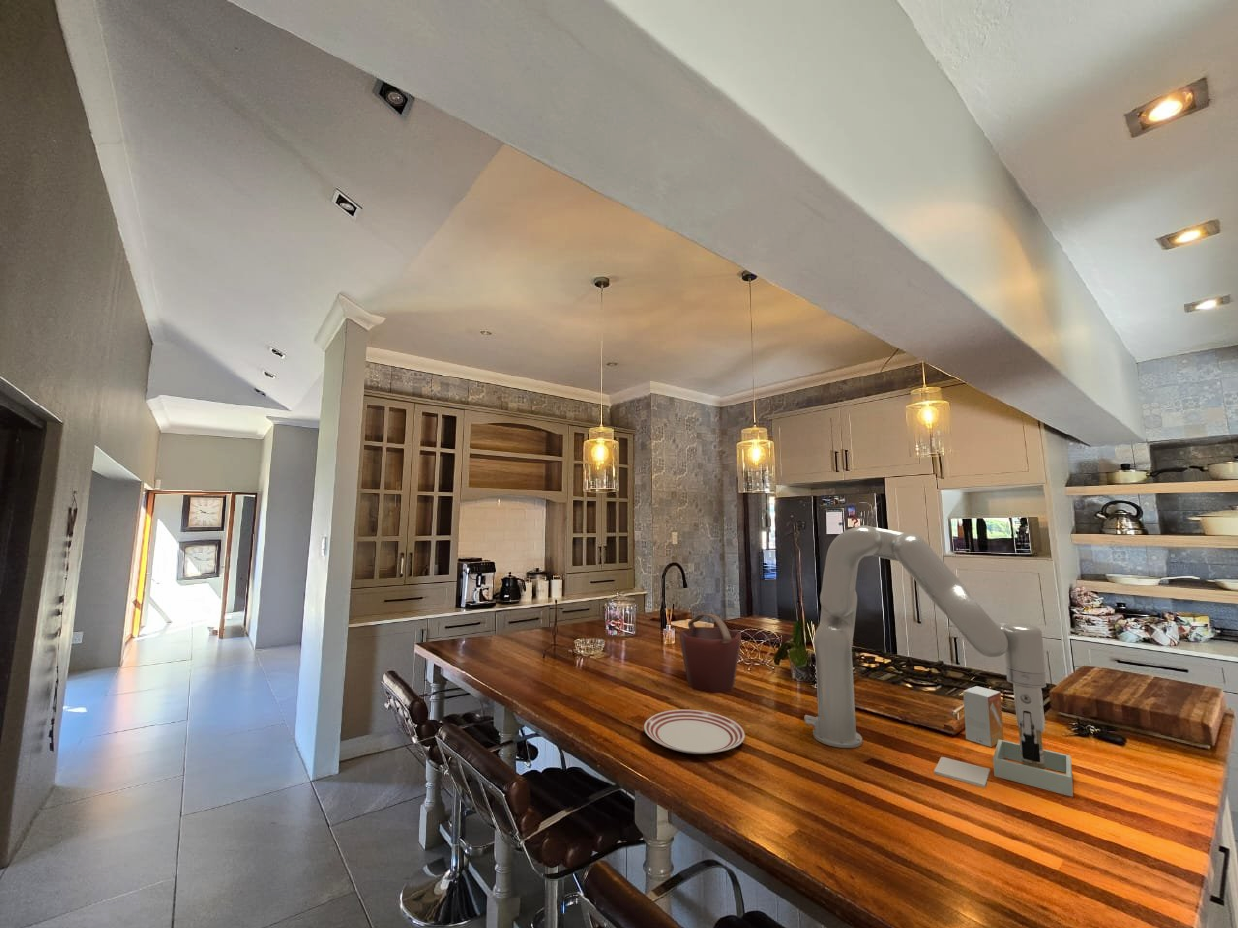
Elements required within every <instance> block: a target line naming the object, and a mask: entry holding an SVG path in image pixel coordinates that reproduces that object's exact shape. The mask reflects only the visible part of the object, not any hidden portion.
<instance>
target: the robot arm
mask: <svg viewBox="0 0 1238 928" xmlns="http://www.w3.org/2000/svg"><path fill="white" fill-rule="evenodd" d="M871 556H872V557H876V558H881V559H885V560H886V559H887V560H891V561H896V562H899V563H900V564H901V566H902V567H904V569H905V570H906V571H907V573H908V575H910V576H911V577H912V578H913V580H914V581H915V582H916V583H917V584H918V586H920V588H921V590H923V592H925V594H926V595H927V596H928V597H929V599H930V600H931V601H932V602H933V603H934V604H935V606H936V607H937V608H938V609H940V610H941V611H942V612H943V613H944V615H945V616H946V617H947V618H948V619H949V621H950V622H952V623H951V624H953V625H954V626H955V628H956V629H957V630H958V631H959V633H960V634H961V635H962V636H963V638H965V639H966V641H967V642H968V643H969V644H970V645H971V646H972V648H973V649H974V650H975V651H976V652H977V653H978V654H980V655H982V656H984V657H987V658H997V657H1000V656H1003V655H1004V658H1005V671H1006V681H1007V682H1008V683H1010V684H1012V687H1013V699H1014V708H1015V717H1016V723H1017V727H1018V728H1019V727H1020V728H1021V727H1022V728H1021V729H1022V740H1021V741H1022V755H1023V758H1024V759H1027V760H1031V761H1036V762H1040V752H1039V744H1037V730H1038V731H1040V732H1041V733H1043V732H1045V728H1046V727H1045V726H1046V720H1045V711H1044V698H1043V691H1042V689H1043V688H1047V679H1046V678H1047V677H1046V668H1045V667H1046V666H1045V655H1044V641H1043V633H1042V630H1041V629H1040V628H1039V627H1038V626H1036V625H1033V624H1027V623H1017V622H1010V623H1007V622H1000V621H995V620H993V619H992V618H991V617H990V616H989V614H988V613H987V612H986V611H985V610H984V609H983V607H982V606H981V605H980V604H979V603H978V602H977V601H976V599H974V597H973V596H972V594H970V591H968V589H967V588H966V587H965V585H964V584H963V582H962V581H961V580H960V579H959V578H958V577H957V575H956V574H955V573H954V572H953V571H952V570H951V569H950V567H948V565H947V564H946V563H945V562H944V560H943V559H942V558H941V557H940V556H939V555H938V554H937V553H936V551H935V550H934V549H933V548H932V547H931V546H930V545H929V544H928V543H927V542H926V540H925V539H923V537H921V536H919V535H917V534H916V533H915V534H914V533H908V532H903V531H896V530H891V529H886V528H880V527H877V526H876V527H874V526H870V525H865V524H864V525H863V524H862V525H858V526H855V527H852V528H849V529H846V530H844V531H842V532H841V533H840V534H838V535H837V536H836V537H835V538H834V539H833V540H832V542H830V545H829V546H828V549H827V552H826V556H825V563H824V570H823V578H822V585H821V591H820V595H819V599H820V601H819V602H820V605H821V610H820V620H819V625H818V626H817V628H816V630H815V633H814V639H813V644H814V655H815V668H816V671H815V673H816V689H817V692H816V694H817V714H818V715H817V716H816V717H815V716H813V715H808V714H805V715H804V723H805V725H806V726H811V727H813V730H812V736H813V738H814V739H815V740H816V741H818V743H819V742H820V743H822V744H824V745H826V746H830V747H833V748H841V749H854V748H858V747H861V746H862V744H863V736H861V734H860V733H858V732H857V728H856V727H857V725H856V711H855V710H856V707H855V705H856V703H855V687H854V685H855V682H854V667H853V666H854V665H853V652H852V651H853V650H852V649H853V641H854V635H855V634H854V633H855V625H856V624H855V623H856V616H857V615H856V613H857V607H858V593H857V592H856V584H857V577H858V576H857V575H858V567H859V563H860V561H861V560H862V559H863V558H865V557H871ZM1031 726H1032V727H1034V729H1031ZM1032 732H1034V735H1033V734H1032Z"/></svg>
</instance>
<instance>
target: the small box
mask: <svg viewBox="0 0 1238 928" xmlns="http://www.w3.org/2000/svg"><path fill="white" fill-rule="evenodd" d="M962 694H963V708H964V710H963V711H964V725H965V726H964V727H965V728H964V729H965V730H964V731H965V739H966V740H968V741H971V742H974V743H977V744H979V745H983V746H987V747H990V748H992V747H994V746H997V743H998V740H1004V725H1003V723H1004V722H1003V710H1002V692H1001V691H999V690H994V689H990V688H986V687H982V686H978V685H976V686H973V687H969V688H967V689H965V690H963V693H962ZM1004 741H1005V740H1004Z"/></svg>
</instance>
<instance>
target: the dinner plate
mask: <svg viewBox="0 0 1238 928" xmlns="http://www.w3.org/2000/svg"><path fill="white" fill-rule="evenodd" d="M643 730H644V732H645V734H646V735H647V736H648V737H649V738H650V739H651V740H652V741H654V742H655V743H657V744H658V745H661V746H663V747H665V748H668V749H670V750H673V751H676V752H681V753H685V754H691V755H692V754H693V755H707V754H716V753H721V752H726V751H729V750H732V749H735V748H737V747H738V746H740V745H742V743H743V742H744V740H745V736H746V733H745V731H744V729H743V728H742V726H741V725H740V724H739V723H737V722H736V721H734V720H732V719H731V718H728V717H726V716H723V715H721V714H717V713H714V712H709V711H705V710H696V709H672V710H666V711H662V712H659V713H656V714H654V715H652V716H650V717H649V718H648V719H647V720H646V721H645V722H644V725H643Z"/></svg>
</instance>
